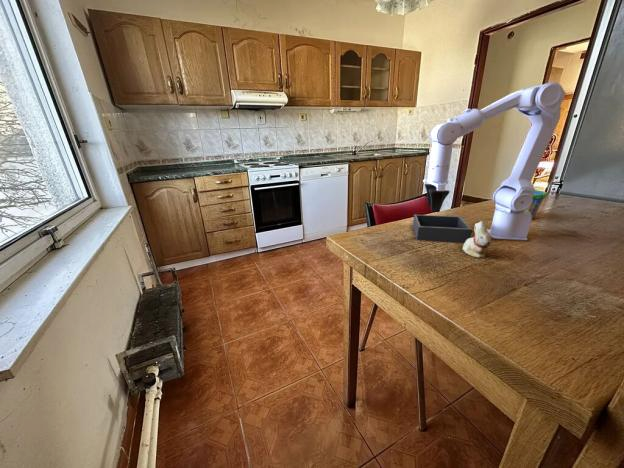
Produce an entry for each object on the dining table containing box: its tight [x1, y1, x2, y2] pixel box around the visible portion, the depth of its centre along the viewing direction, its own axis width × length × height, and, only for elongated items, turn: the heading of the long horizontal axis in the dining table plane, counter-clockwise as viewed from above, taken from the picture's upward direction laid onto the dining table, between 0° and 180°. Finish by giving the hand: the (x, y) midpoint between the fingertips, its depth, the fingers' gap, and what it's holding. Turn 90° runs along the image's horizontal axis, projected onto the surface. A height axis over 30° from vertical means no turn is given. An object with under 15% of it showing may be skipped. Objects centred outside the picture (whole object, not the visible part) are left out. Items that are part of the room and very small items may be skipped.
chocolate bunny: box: [462, 220, 492, 259], centre depth 73 cm, size 6×8×10 cm
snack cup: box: [527, 189, 547, 219], centre depth 101 cm, size 16×10×10 cm
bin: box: [412, 214, 473, 244], centre depth 88 cm, size 16×14×5 cm
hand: (433, 208), depth 84 cm, fingers open, 7 cm apart
